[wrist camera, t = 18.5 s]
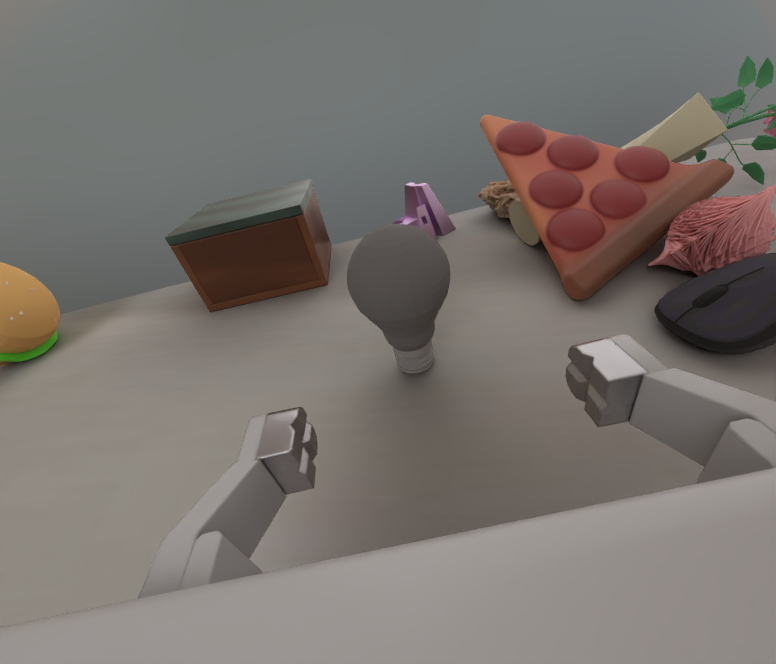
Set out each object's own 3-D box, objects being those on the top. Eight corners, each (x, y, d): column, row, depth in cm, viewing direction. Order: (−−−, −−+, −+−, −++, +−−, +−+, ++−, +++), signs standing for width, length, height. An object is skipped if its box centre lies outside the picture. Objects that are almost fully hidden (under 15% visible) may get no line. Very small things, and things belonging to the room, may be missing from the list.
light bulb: (400, 333, 27) (372, 209, 22) (472, 347, 24) (461, 206, 19) (358, 383, 24) (311, 249, 18) (437, 408, 21) (410, 255, 15)
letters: (410, 254, 39) (401, 202, 36) (374, 245, 44) (363, 198, 41) (455, 228, 43) (451, 178, 40) (417, 222, 48) (410, 177, 44)
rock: (556, 158, 48) (631, 141, 40) (559, 195, 50) (630, 187, 42) (464, 187, 43) (526, 175, 34) (470, 228, 45) (531, 226, 36)
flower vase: (521, 288, 42) (773, 147, 42) (591, 310, 31) (942, 115, 30) (485, 198, 38) (761, 42, 38) (549, 183, 27) (948, -42, 26)
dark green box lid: (210, 211, 44) (207, 204, 43) (313, 186, 43) (311, 179, 43) (169, 246, 33) (164, 237, 33) (303, 213, 33) (300, 204, 32)
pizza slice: (589, 295, 24) (411, 150, 31) (576, 309, 26) (411, 170, 33) (744, 166, 28) (551, 63, 35) (722, 188, 30) (544, 86, 37)
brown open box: (236, 269, 47) (208, 213, 43) (331, 246, 47) (313, 187, 43) (209, 312, 38) (169, 246, 34) (327, 284, 38) (303, 214, 33)
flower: (839, 230, 18) (759, 156, 19) (675, 312, 24) (621, 251, 25) (812, 221, 24) (751, 164, 25) (684, 290, 29) (638, 240, 30)
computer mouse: (634, 316, 23) (648, 263, 21) (768, 283, 23) (796, 226, 21) (710, 370, 19) (739, 309, 16) (877, 329, 19) (929, 262, 16)
